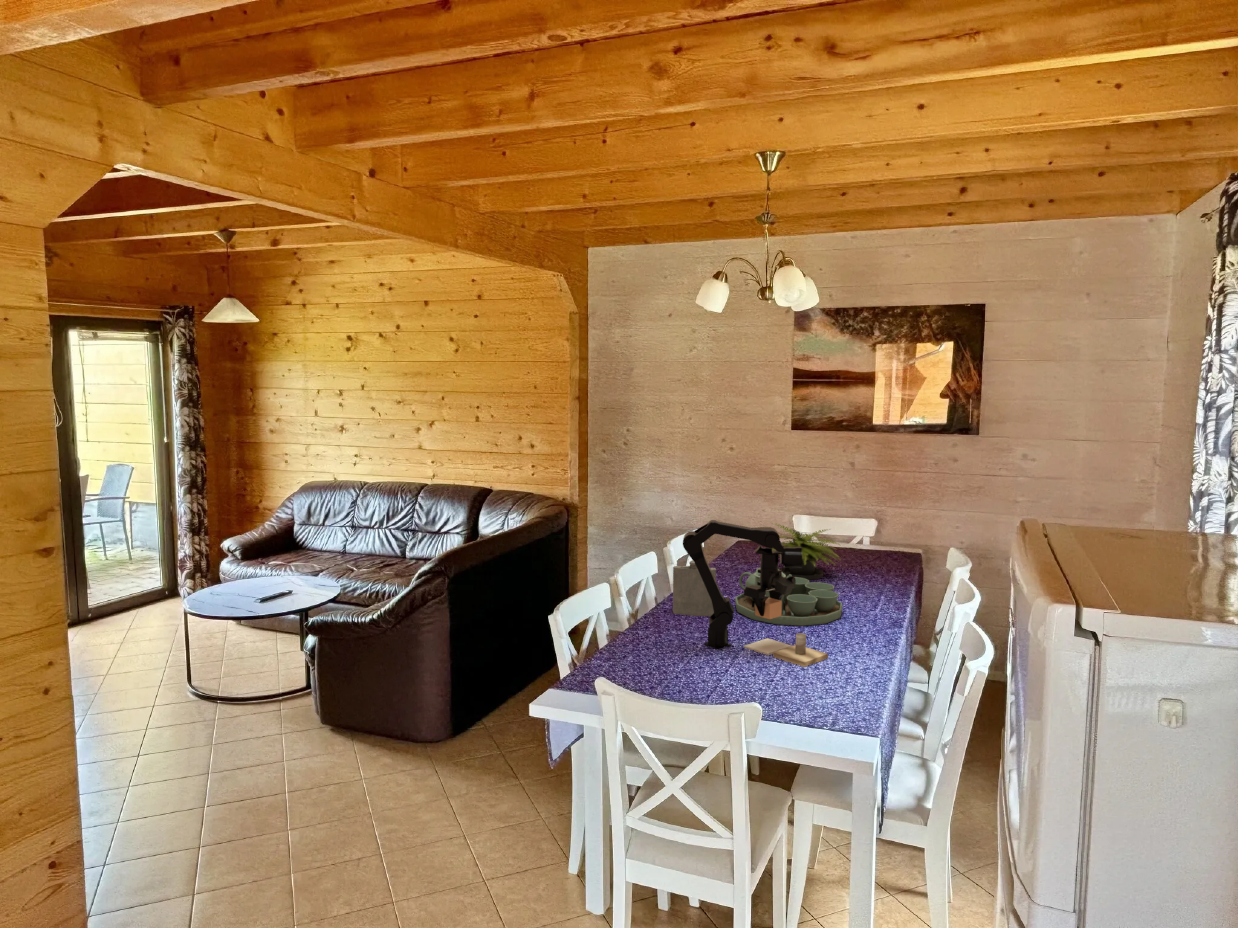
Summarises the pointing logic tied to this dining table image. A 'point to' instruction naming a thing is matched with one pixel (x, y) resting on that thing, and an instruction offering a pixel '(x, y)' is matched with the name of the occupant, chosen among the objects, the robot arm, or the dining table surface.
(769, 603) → the orange cube
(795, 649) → the post stand
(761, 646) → the pad
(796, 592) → the tea set
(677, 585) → the hip flask
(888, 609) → the dining table surface
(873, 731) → the dining table surface
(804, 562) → the fern plant
